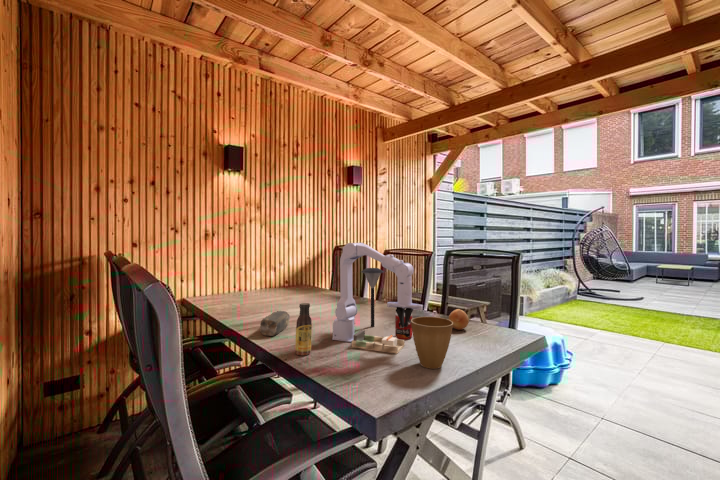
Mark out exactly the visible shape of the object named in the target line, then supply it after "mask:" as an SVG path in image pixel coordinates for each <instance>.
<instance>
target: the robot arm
mask: <svg viewBox="0 0 720 480" xmlns="http://www.w3.org/2000/svg"><path fill="white" fill-rule="evenodd" d="M363 256H367V257H368V258H371V259H374V260H375V261H377V262H379V263H381V266H382V267H383V268H384V269H387V270H388V271H390V272H392V273H394V274H395V276H396V277H397V278H396V279H397V301H388V302H386V308H396V309H395V314H396V313H397V314H398V317H399V319H400V323H401V326H402V327H403V326H404V313H405V327H407V326H408V323H409V319H410V316H411V314H412V315H413V312H414V310H418V311H423V309H424V308H423V307H424V305H423V304H419V303H413V300H412V298H413V295H412V293H413V292H412V290H413V289H412V288H413V286H412V285H413V283H412V282H413V281H412V280H413V279H412V276H413V275H414V272H415V269H414V266H413V265H412V264H411V263H410V262H404V260H403V259H401V260H400V259H398V258H396V257H395V255H394V254H386V255H384V254H383V253H381V252H379V251H378V250H376V249H374V248H373V247H371V246H370V245H368V244H366V243H364V242H348V243H346V244H345V245H344V246H343V247H342V253H341V256H340V259H339V275H340V278H339V279H340V280H339V283H340V284H339V285H340V291H339V293H340V298H339V300H338V301H337V302H336V308H335V311H334V313H335V314H334V315H335V317H336V318H334V320H333V323H332V338H331V340H332V341H333V340H334V341H341V342H348V343H352V340H353V335H355V318H356V315H357V314H358V306H357V304H356V300H355V299H354V298H353V291H354V290H353V263H355V262H356V260H357V259H359V258H362V257H363Z"/></svg>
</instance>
